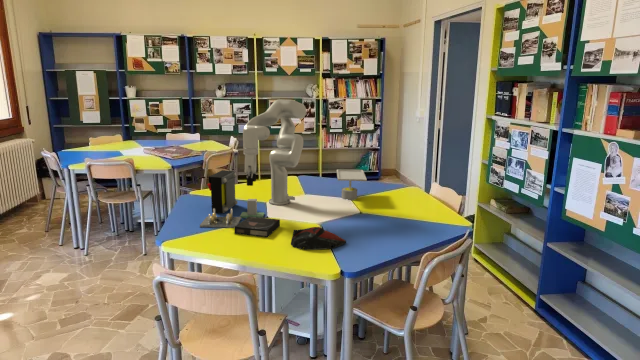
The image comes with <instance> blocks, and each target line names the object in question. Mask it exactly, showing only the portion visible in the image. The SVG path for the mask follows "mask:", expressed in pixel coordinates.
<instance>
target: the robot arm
mask: <svg viewBox="0 0 640 360" xmlns="http://www.w3.org/2000/svg"><path fill="white" fill-rule="evenodd" d="M305 116H307V107H306V105H304V104H303V103H301V102H298V101H297V100H293V99H286V98H285V99H283V98H282V99H281V98H279V99H276V100H274V101H273V102H272V104H271V105H270V106H269V107H268V108H267V109H266V111H265V112H263V113H260V114H259V115H256V116H254V117H252V118H250V120H248V122H247V123H246V124H245V125H244V127H243V129H242V145H243V147H242V149H243V155H244V174H246V186H249V187H253V186H254V182H256V181H257V174H256V173H257V172H256V171H257V155H259V141H266V140H267V139H268V138H269V137H270V135H271V132H270V129H269V127H270V126H273V125H276V124H277V123H278V122H279V120H280V122H281V123H280V125H281V126H280V130H279V133H278V137H277V140H276V146H277V148H279V149H273V150H272V151H270V153H269V156H268V160H269V165H270V178H271V179H270V184H271V190H270V191H271V195H270V197H271V198H270V199H268V203H269V204H270V205H275V206H279V205H280V206H283V205H289V204H290V203H291V201H295V200H296V196H294V195H289V193H288V172H287V171H288V170H287V169H286V168H296V167H297V166H298V164H299V162H300V158H301V155H302V151H303V147H304V138H303V136H302V135H300V134H297V133H295V132H296V125H295V123H294V122H293V120H292V119H300V120H301V119H304V118H305Z"/></svg>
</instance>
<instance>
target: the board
mask: <svg viewBox="0 0 640 360" xmlns="http://www.w3.org/2000/svg"><path fill="white" fill-rule="evenodd" d="M246 201H247V202H246V204H247V206H246V207H247V209H246V210H247V211H242V212H241V214H240V215H239V217H241V219H246V218H248V217H249V216H251V217H260V218H264V216H265V212H264V211H262V212H258V199H257V198H248V199H247V200H246Z"/></svg>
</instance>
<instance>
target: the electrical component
mask: <svg viewBox="0 0 640 360" xmlns="http://www.w3.org/2000/svg"><path fill="white" fill-rule="evenodd" d="M237 175H238V174H237V173H236V172H235V171H234V170H225V169H224V170H223V169H222V170H220V171H217V172H215V173H214V174H211V175H209V176H208V183H207V186H208V190H209V191H210V194H211V195H210V197H211V198H210V199H211V214H213V208H215V213H216V214H224V213H226V212H228V210H231V209H232V208H233V207H235V206H236V205H237V204H238V200H237V199H236V179H235V178H237V177H238V176H237Z"/></svg>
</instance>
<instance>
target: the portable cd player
mask: <svg viewBox="0 0 640 360" xmlns="http://www.w3.org/2000/svg"><path fill="white" fill-rule="evenodd" d="M280 227H281V219H278V218H270V217H269V218H268V217H263V218H260V217H251V216H249V217H248V218H244V219H243V220H242V221H240V222H239V224H238V225H236V226H235V228H234V230H233V231H234V232H233V233H234V235H241V236H250V237H258V238H269V237H270V236H271V235H272V234H273V233H274V232H276V230H278V229H279V228H280Z"/></svg>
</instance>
